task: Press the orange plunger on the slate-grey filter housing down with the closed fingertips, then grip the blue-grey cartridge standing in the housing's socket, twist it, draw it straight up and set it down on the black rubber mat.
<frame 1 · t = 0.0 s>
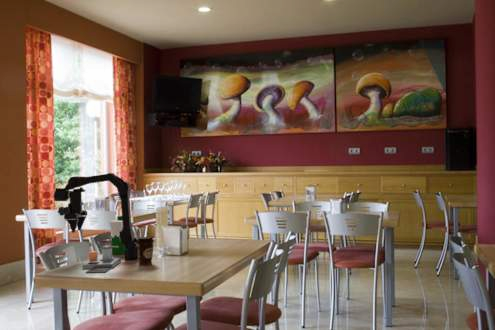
hand: (76, 231, 278), 15 cm above the table, fingers open, 9 cm apart
housing: (102, 265, 262), on the table
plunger: (93, 256, 257), point 5 cm above the table, slide at 0.0 cm
coffee cup: (145, 264, 262), on the table
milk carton: (119, 253, 296), on the table
mat: (98, 270, 248), on the table
cartridge: (107, 264, 265), resting in housing
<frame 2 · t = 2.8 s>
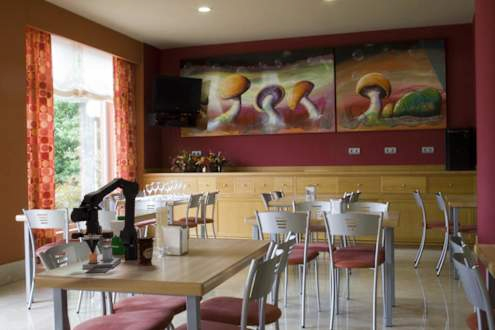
hand: (93, 253, 258), 7 cm above the table, fingers closed, pressing on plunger
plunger: (93, 257, 257), point 4 cm above the table, slide at 0.8 cm, touching gripper
everything else where it was.
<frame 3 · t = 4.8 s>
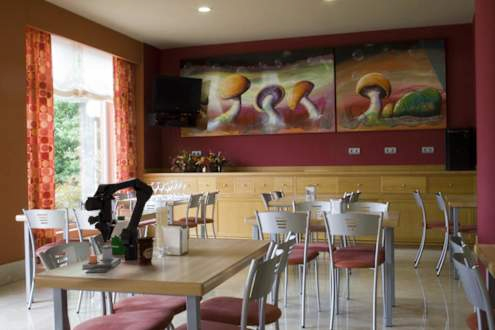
hand: (106, 241, 265), 11 cm above the table, fingers open, 5 cm apart
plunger: (93, 260, 258), point 3 cm above the table, slide at 1.8 cm
everything else where it was.
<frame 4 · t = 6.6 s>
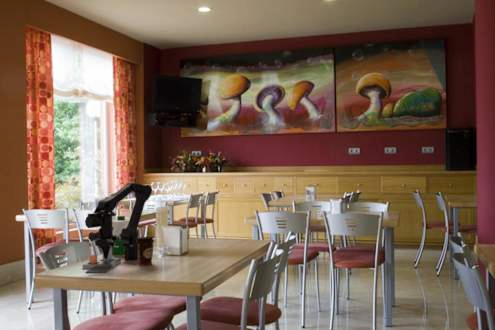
hand: (107, 257, 265), 3 cm above the table, fingers closed on cartridge, 5 cm apart
cartridge: (107, 264, 265), resting in housing, touching gripper
everything else where it was.
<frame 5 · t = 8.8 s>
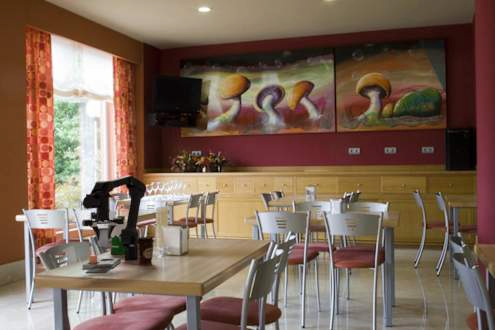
hand: (103, 240, 260), 12 cm above the table, fingers closed on cartridge, 5 cm apart
cartridge: (103, 246, 260), point 9 cm above the table, touching gripper
everything else where it was.
when the fingers open (4 cm above the table, at t = 11.1 s): cartridge drops 1 cm, resting on mat.
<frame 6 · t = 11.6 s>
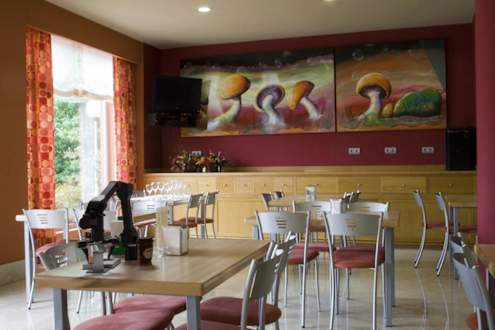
hand: (98, 261, 248), 4 cm above the table, fingers open, 9 cm apart
cartridge: (98, 270, 249), resting on mat
everything else where it was.
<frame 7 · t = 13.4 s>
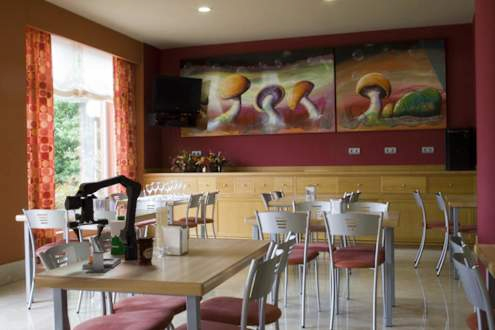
hand: (88, 240, 263), 12 cm above the table, fingers open, 9 cm apart
nothing on the table moved.
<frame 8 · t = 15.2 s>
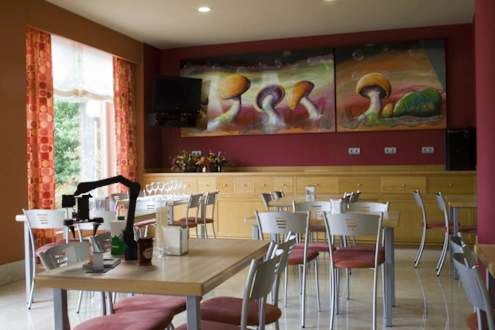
hand: (84, 238, 270), 12 cm above the table, fingers open, 9 cm apart
nothing on the table moved.
at the end: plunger slide at 1.8 cm; cartridge inside the target area on the mat (0.1 cm from its centre), point 0.5 cm above the mat's base; cartridge tilted 2° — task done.
